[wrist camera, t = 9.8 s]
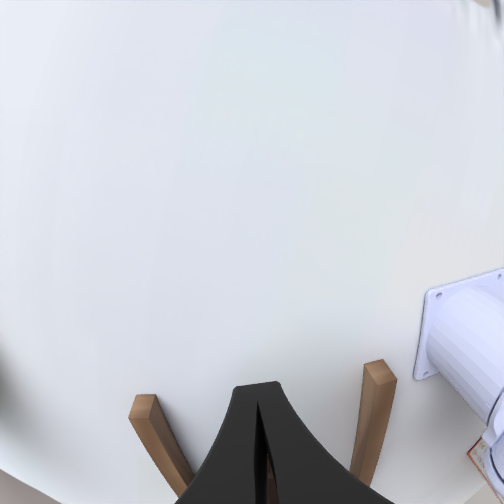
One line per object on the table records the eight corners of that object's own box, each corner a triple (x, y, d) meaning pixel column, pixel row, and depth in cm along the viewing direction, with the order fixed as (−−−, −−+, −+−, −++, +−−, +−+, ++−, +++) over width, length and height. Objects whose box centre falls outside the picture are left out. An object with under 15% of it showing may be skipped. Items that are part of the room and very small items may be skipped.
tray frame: (382, 359, 20) (397, 379, 17) (359, 481, 25) (365, 497, 22) (136, 394, 19) (128, 417, 17) (198, 504, 24) (197, 522, 22)
